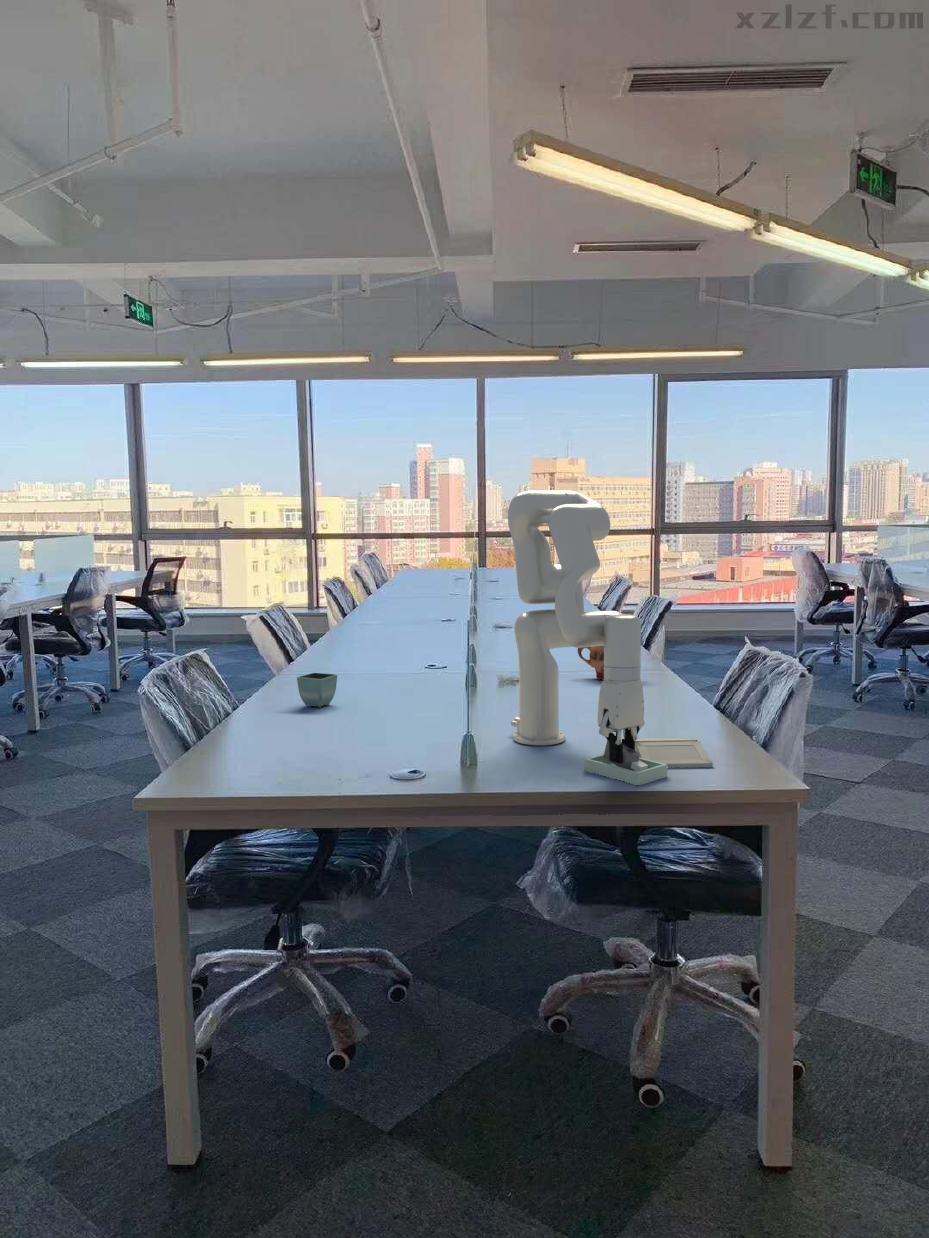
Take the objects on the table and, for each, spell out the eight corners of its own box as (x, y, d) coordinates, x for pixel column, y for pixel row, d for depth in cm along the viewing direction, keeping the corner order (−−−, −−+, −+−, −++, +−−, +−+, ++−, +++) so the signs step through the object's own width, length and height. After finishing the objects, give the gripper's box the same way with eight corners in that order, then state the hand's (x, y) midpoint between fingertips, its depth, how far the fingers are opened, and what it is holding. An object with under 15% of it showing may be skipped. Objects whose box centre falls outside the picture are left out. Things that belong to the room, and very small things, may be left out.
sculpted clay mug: (572, 680, 294) (572, 638, 292) (581, 674, 305) (581, 634, 304) (632, 683, 286) (632, 641, 285) (639, 677, 298) (639, 636, 296)
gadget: (624, 744, 212) (624, 729, 212) (687, 743, 212) (687, 728, 212) (643, 771, 189) (643, 755, 189) (713, 770, 189) (714, 753, 189)
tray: (584, 770, 188) (584, 758, 188) (614, 762, 194) (614, 751, 194) (637, 785, 177) (638, 773, 177) (667, 776, 183) (667, 764, 183)
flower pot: (339, 703, 262) (338, 673, 261) (322, 709, 254) (321, 679, 253) (314, 701, 265) (313, 672, 264) (296, 707, 257) (295, 677, 256)
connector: (600, 755, 188) (603, 740, 187) (610, 752, 190) (614, 737, 189) (636, 778, 181) (640, 762, 180) (646, 775, 183) (650, 760, 182)
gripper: (633, 667, 192) (633, 750, 194) (581, 676, 182) (582, 763, 184) (661, 671, 186) (661, 756, 188) (609, 681, 176) (609, 771, 178)
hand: (622, 759), depth 186 cm, fingers closed on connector, 3 cm apart
